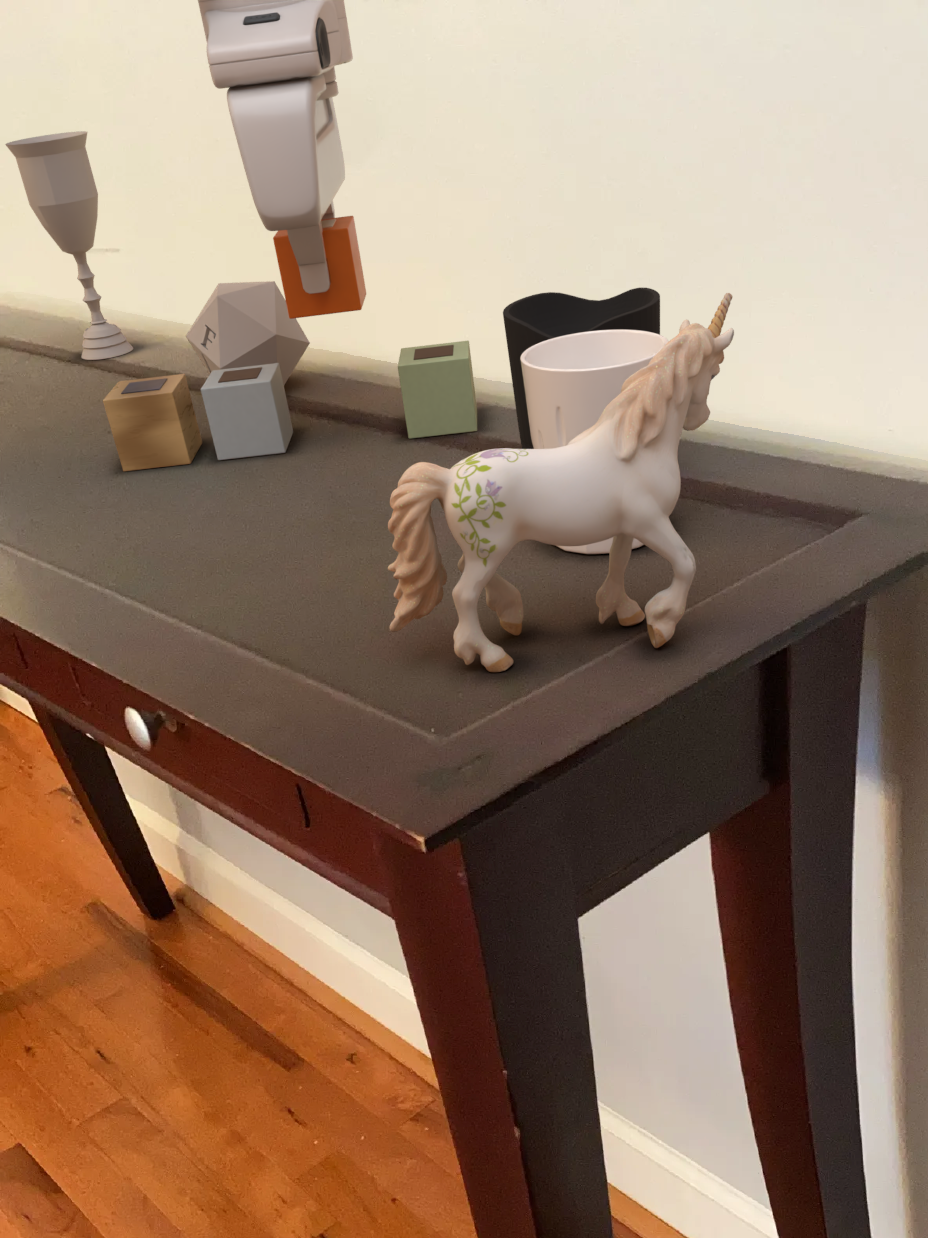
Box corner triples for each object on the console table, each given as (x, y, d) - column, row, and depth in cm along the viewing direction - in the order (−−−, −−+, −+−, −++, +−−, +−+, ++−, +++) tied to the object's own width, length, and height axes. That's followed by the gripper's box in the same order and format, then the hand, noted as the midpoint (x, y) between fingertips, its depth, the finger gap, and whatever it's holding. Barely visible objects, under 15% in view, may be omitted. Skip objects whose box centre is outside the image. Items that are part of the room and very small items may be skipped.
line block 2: (217, 460, 92) (199, 387, 89) (228, 439, 96) (211, 369, 93) (285, 453, 92) (270, 379, 89) (293, 432, 96) (278, 361, 93)
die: (212, 391, 111) (148, 309, 102) (286, 318, 110) (228, 230, 101) (266, 442, 107) (205, 363, 98) (342, 367, 107) (288, 281, 98)
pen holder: (575, 508, 77) (562, 331, 71) (492, 474, 83) (473, 310, 77) (695, 467, 81) (692, 295, 74) (607, 438, 87) (597, 277, 81)
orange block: (289, 319, 87) (272, 236, 84) (297, 303, 91) (281, 223, 87) (361, 310, 86) (347, 226, 83) (366, 294, 90) (353, 214, 87)
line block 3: (408, 438, 92) (397, 364, 89) (411, 418, 96) (400, 347, 92) (477, 431, 91) (468, 356, 88) (477, 411, 95) (468, 339, 92)
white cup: (511, 549, 73) (491, 365, 67) (583, 501, 78) (570, 326, 72) (631, 567, 69) (621, 374, 63) (698, 516, 74) (695, 332, 68)
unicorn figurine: (807, 610, 62) (818, 317, 54) (442, 720, 57) (393, 415, 49) (730, 564, 68) (730, 291, 60) (390, 661, 63) (338, 377, 55)
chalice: (125, 339, 128) (69, 130, 117) (156, 347, 124) (100, 131, 113) (58, 357, 125) (-7, 144, 114) (87, 366, 120) (22, 145, 109)
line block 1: (123, 471, 92) (102, 399, 89) (137, 450, 96) (118, 380, 93) (190, 463, 92) (171, 391, 89) (202, 442, 96) (184, 372, 93)
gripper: (251, 35, 87) (295, 257, 96) (200, 54, 71) (258, 320, 80) (342, 23, 87) (377, 247, 96) (311, 39, 71) (357, 308, 79)
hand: (323, 281), depth 87 cm, fingers closed on orange block, 5 cm apart
